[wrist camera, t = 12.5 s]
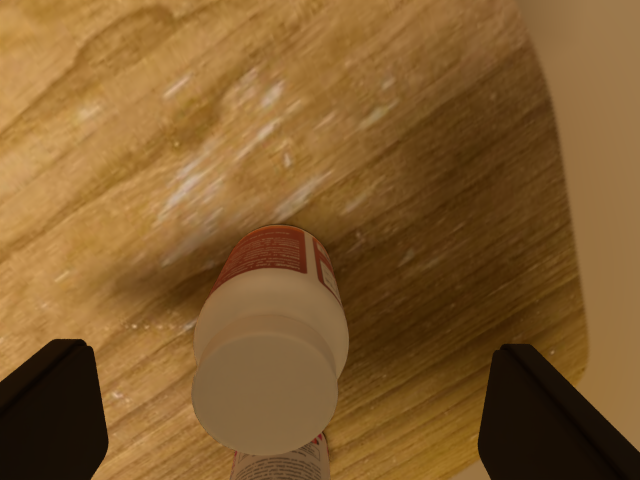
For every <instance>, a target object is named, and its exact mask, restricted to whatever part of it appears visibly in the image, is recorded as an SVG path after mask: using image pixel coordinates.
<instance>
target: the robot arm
mask: <svg viewBox="0 0 640 480" xmlns="http://www.w3.org/2000/svg"><path fill="white" fill-rule="evenodd" d="M108 443H109V442H108V434H107V428H106V422H105V416H104V410H103V404H102V398H101V392H100V386H99V380H98V374H97V368H96V362H95V356H94V351H93V348H92V347H91V346H87V344H86V342H85V341H84V340H82V339H54V340H52V341H50V342H49V343H48V344H47V345H45V346H44V347H43V348H42V349H40V350H39V351H38V352H37V353H36V354H34V355H33V356H32V357H31V358H29V359H28V360H27V361H26V362H24V363H23V364H22V365H21V366H20V367H18V368H17V369H16V370H15V371H13V372H12V373H11V374H10V375H9V376H7V377H6V378H5V379H4V380H2V381H1V382H0V480H91V478H92V477H93V475H94V473H95V472H96V470H97V469H98V467H99V465H100V464H101V462H102V461H103V459H104V457H105V455H106V453H107V449H108ZM478 451H479V455H480V458H481V461H482V463H483V464H484V466H485V468H486V470H487V472H488V474H489V476H490V478H491V480H640V452H639V451H637V449H636V448H635V447H634V446H633V445H632V444H631V443H630V442H629V441H627V439H626V438H625V437H624V436H623V435H621V433H620V432H619V431H617V429H616V428H614V427H613V426H612V425H611V424H610V423H609V422H608V421H607V420H606V419H605V418H604V417H603V416H602V415H601V414H600V413H599V412H598V411H597V410H596V409H595V408H594V407H593V406H592V405H591V404H590V403H589V402H588V401H587V400H586V399H585V398H584V397H583V396H582V395H581V394H580V393H579V392H578V391H577V390H576V389H575V388H574V387H573V386H572V385H571V384H570V383H569V382H568V381H567V380H566V379H565V378H564V377H563V376H562V375H561V374H560V373H559V372H558V371H557V370H556V369H555V368H554V367H553V366H552V365H551V364H550V363H549V362H548V361H547V360H546V359H545V358H544V357H543V356H542V355H541V354H540V353H539V352H538V351H537V350H536V349H535V348H534V347H533V346H532V345H530V344H503V345H502V346H501V348H500V350H496V351H495V352H494V353H493V357H492V363H491V368H490V374H489V380H488V386H487V391H486V397H485V403H484V409H483V414H482V420H481V426H480V432H479V437H478Z"/></svg>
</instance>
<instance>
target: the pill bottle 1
mask: <svg viewBox="0 0 640 480" xmlns="http://www.w3.org/2000/svg"><path fill="white" fill-rule="evenodd" d="M348 349H349V333H348V327H347V321H346V317H345V313H344V310H343V306H342V303H341V299H340V295H339V291H338V287H337V283H336V280H335V276H334V272H333V268H332V264H331V261H330V258H329V256H328V254H327V252H326V250H325V248H324V247H323V245H322V244H321V243H320V242H319V241H318V240H317V239H316V238H315V237H314V236H312V235H311V234H310V233H308V232H306V231H304V230H302V229H300V228H297V227H293V226H288V225H269V226H265V227H261V228H259V229H256V230H254V231H252V232H251V233H249V234H247V235H246V236H245V237H243V238H242V239H241V240H240V241H239V242H238V244H237V245H236V246H235V247H234V249H233V250H232V252H231V254H230V255H229V257H228V259H227V261H226V263H225V265H224V267H223V269H222V270H221V273H220V275H219V277H218V278H217V280H216V282H215V284H214V286H213V288H212V290H211V291H210V294H209V296H208V298H207V299H206V301H205V303H204V305H203V307H202V310H201V312H200V315H199V317H198V320H197V323H196V326H195V331H194V355H195V360H196V363H197V366H198V367H197V370H196V373H195V376H194V379H193V384H192V392H191V397H192V404H193V408H194V412H195V414H196V416H197V418H198V420H199V422H200V423H201V425H202V426H203V428H204V429H205V430H206V431H207V433H208V434H209V435H210V436H212V437H213V438H214V439H215V440H216V441H218V442H219V443H221V444H222V445H224V446H226V447H228V448H230V449H233V450H235V451H238V452H241V453H245V454H250V455H276V454H283V453H286V452H289V451H292V450H295V449H298V448H300V447H302V446H304V445H306V444H307V443H309V442H310V441H312V440H313V439H314V438H316V437H317V436H318V435H319V434H320V433H321V432H322V431H323V430H324V429H325V427H326V426H327V425H328V423H329V422H330V420H331V418H332V416H333V414H334V411H335V408H336V405H337V399H338V384H337V379H338V378H339V376H340V374H341V372H342V370H343V368H344V366H345V363H346V359H347V355H348Z"/></svg>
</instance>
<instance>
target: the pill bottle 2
mask: <svg viewBox="0 0 640 480" xmlns="http://www.w3.org/2000/svg"><path fill="white" fill-rule="evenodd" d="M230 480H330V468H329V454H328V448H327V443H326V440H325V437H324V435H323V433H322V432H321V433H320V434H319V435H318V436H317V437H316V438H314V439H313V440H312V441H310V442H309V443H307V444H306V445H304V446H302V447H300V448H298V449H295V450H292V451H289V452H286V453H283V454H276V455H250V454H245V453H241V452H238V451H235V455H234V460H233V466H232V471H231V476H230Z"/></svg>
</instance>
